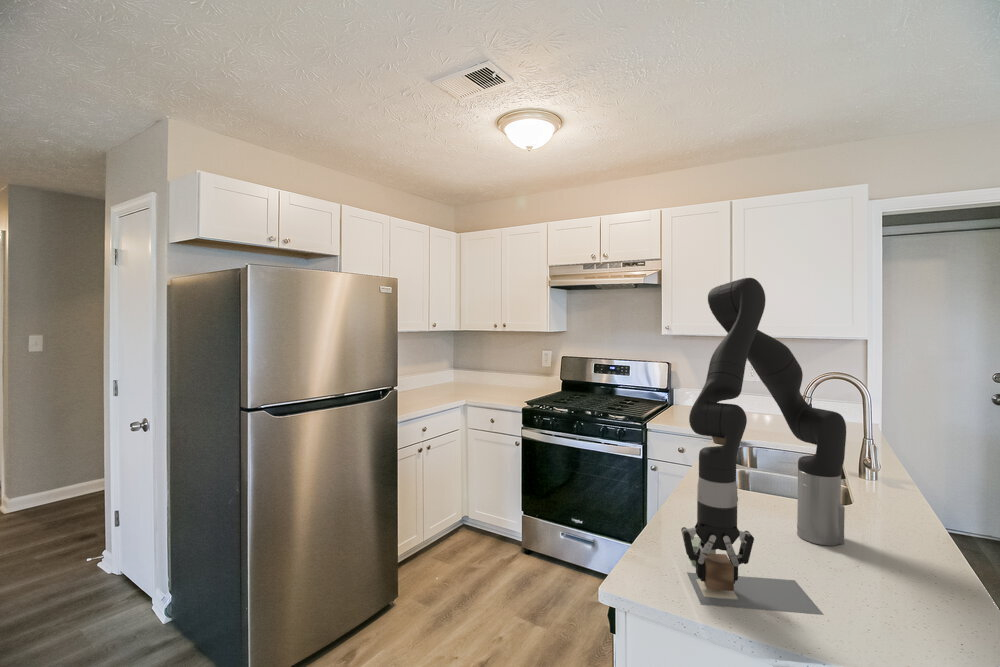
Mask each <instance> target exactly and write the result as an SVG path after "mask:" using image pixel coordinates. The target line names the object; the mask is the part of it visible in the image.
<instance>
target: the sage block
mask: <svg viewBox="0 0 1000 667" xmlns="http://www.w3.org/2000/svg"><path fill="white" fill-rule="evenodd" d="M700 540H701V539H700V538H699V536H694V539H693V540H691V542H692V546H693V551H694V552H697V549H698V545H699V542H700ZM716 551H717V549H716V550H710V553H712V554H717V553H716ZM689 561H690V563H691V565H692V566H696V561H694V560H693V561H692V560H690V559H689Z"/></svg>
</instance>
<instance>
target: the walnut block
mask: <svg viewBox="0 0 1000 667" xmlns="http://www.w3.org/2000/svg"><path fill="white" fill-rule="evenodd" d="M704 563H705V582H704V583H705V585H706V587H707V589H712V590H726V591H734V566H733V565H732V563H731V561H730V559H729V557H728V555H727V553H726V554H725V553H716V554H712V553H709V555H707V557H706V559H705V561H704Z"/></svg>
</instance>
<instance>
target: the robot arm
mask: <svg viewBox="0 0 1000 667" xmlns="http://www.w3.org/2000/svg"><path fill="white" fill-rule="evenodd" d="M707 304H708V307H709V309H710V311H711V313H712V315H713V317H714V318H715V320H716V321H717V322H718V323H719V324H720V325H721V327H722V328H723V329H724V331H725V332H726V333H727V334H726V336H724V338H723V339H722V340H721V342H720V343H719V344H718V345H717V347H716V348H715V350H714V352H713V353H712V354H711V357H710V361H709V364H708V370H707V375H706V379H705V383H704V385H703V388H702V390H701V391H700V393H699V395H698V397H697V398H696V400H695V402H694V404H693V405H692V407H691V409H690V412H689V417H688V420H689V426H690V428H691V430H692V431H693V432H694V433H695V434H697V435H699V436H705V437H719V438H725V444H721V445H719V446H718V445H717V446H716V445H715V446H705V447H703V448H701V449H700V451H699V453H698V479H697V480H698V481H697V488H696V489H697V490H696V491H697V492H696V500H697V502H696V509H697V510H696V512H697V513H696V515H697V516H696V520H697V521H696V524H695V526H694V527H692V528H691V527H690V528H687V527H684V526H683V527H682V528H680V529H681V530H680V532H681V534H682V535H681V536H682V540H683V543H684V549H685V553H686V554H687V557H688V559H689V561H690V560H692V561H693V560H694V561H696V565H695V573H696V574H697V576H698V578H700V580H701V581H704V582H705V563H704V561H705V559H706V557H707V555H709V553H710V550H716V551H717V550H719V551H726V555H727V557H728V558H729V560H730V561H731V563H732V565H733V566H734V584H735V581H737V580H738V576H739V567H740V566H739V565H741V564H744V565H747V564H748V563H749V561H750V559H751V558H750V557H751V552H752V549H753V545H754V541H755V538H754V536H753V535H752V534H751V532H750V531H749V530H744V531H742V530H739V529H738V501H739V497H738V486H737V461H738V460H737V459H738V453H739V448H740V444H741V441H742V439H743V437H744V433H745V431H746V430H745V429H747V428H746V426H747V422H748V419H747V414H746V412H745V410H744V409H743V407H741V406H740V405H738V404H735V403H726V402H725V403H723V402H722V401H729V400H733V399H736V398H738V397H740V395H741V393H742V389H743V383H744V378H745V370H746V364H747V360H748V362H749V363H750V365H751V367H752V368H753V370H754V372H755V373H756V375H757V376H758V378H759V379H760V381H761V382H762V383H763V385H764V386H765V388H766V389H767V390H768V392H769V394H770V395H771V396H772V398H773V400H774V402H775V403H776V404H777V406H778V407H779V408H778V409H779V410H780V412H781V413H782V416H783V417H784V419H785V422H786V424H787V425H788V428H789V429H790V431H791V433H792V434H793V435H794V436H795V438H796V439H798V440H800V441H802V442H804V443H808V444H811V445H815V446H816V449H815V454H812V455H804V456H800V457H798V460H797V510H796V511H797V513H796V514H797V515H796V516H797V517H796V518H797V519H796V520H797V521H796V523H797V524H796V530H797V531H796V534H797V536H798V537H799V538H800V539H802V540H805V541H807V542H809V543H813V544H816V545H821V546H830V547H831V546H838V545H840V544H841V545H844V544H845V516H846V514H845V511H846V509H845V506H844V505H843V504H842V503H841V502H842V469H843V465H844V462H845V454H846V444H847V442H846V440H847V423H846V420H845V418H844V417H843V415H842V414H841V413H839V412H836V411H834V410H828V409H822V408H816V407H812V406H811V405H810V404H808V402H807V401H806V400H805V398H804V397H803V395H802V394H801V386H802V382H803V377H804V376H803V374H804V373H803V370H802V367H801V365H800V363H799V361H798V360H797V358H796V357H795V356H794V354H793V352H792V351H791V349H790V348H789V347H788V346H787V345H786V344H785V343H783V342H781V341H780V340H778V339H776V338H774V337H772V336H770V335H769V334H766V333H765V332H763V331H761V330H759V325H760V322H761V320H762V318H763V316H764V311H765V308H766V294H765V290H764V287H763V286H762V284H761V282H759V281H758V280H757V279H756V278H754V277H745V278H741V279H737V280H734V281H730V282H726V283H724V284H720V285H718V286H715V287H712V288H711V289H710V290H709V292H708V294H707ZM695 535H697V537H699V538H700V539H701V540H700V542H699V545H698V549H697V552H694V551H693V546H692V542H691V540H693V539H694V537H695ZM738 539H739V541H740V546H739V551H738V553H737V554H736V551H735V549H734V547H733V544H734V543H735V542H736V541H737V540H738Z"/></svg>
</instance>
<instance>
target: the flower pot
mask: <svg viewBox="0 0 1000 667" xmlns="http://www.w3.org/2000/svg"><path fill="white" fill-rule="evenodd" d="M712 442H713V443H714V442H715V443H714V444H717V443H718V445H724V444H725V438H719V437H712Z"/></svg>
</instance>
